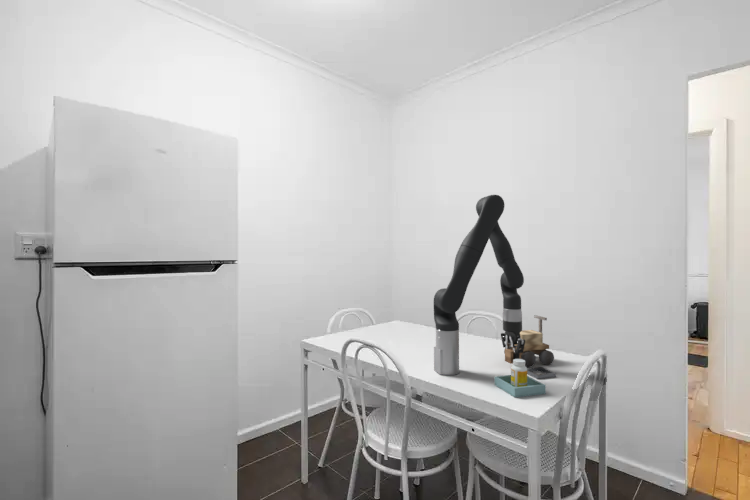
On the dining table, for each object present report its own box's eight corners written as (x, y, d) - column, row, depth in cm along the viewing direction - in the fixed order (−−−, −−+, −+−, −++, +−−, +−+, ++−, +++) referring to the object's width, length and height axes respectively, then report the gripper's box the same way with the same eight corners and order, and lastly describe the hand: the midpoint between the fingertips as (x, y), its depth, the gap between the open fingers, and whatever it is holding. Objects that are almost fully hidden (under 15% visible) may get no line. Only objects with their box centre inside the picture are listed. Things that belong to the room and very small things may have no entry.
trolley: (523, 367, 156) (523, 321, 156) (504, 358, 169) (504, 315, 169) (554, 364, 160) (553, 319, 159) (532, 355, 173) (532, 313, 173)
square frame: (537, 379, 142) (537, 375, 142) (523, 372, 150) (523, 368, 150) (555, 377, 144) (555, 373, 144) (541, 370, 152) (541, 366, 152)
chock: (510, 363, 153) (510, 351, 153) (504, 360, 157) (504, 348, 157) (521, 362, 154) (521, 350, 154) (515, 359, 158) (515, 348, 158)
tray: (514, 397, 125) (514, 388, 125) (494, 384, 136) (494, 376, 136) (545, 393, 128) (545, 384, 128) (523, 381, 139) (523, 373, 139)
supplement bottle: (508, 387, 132) (508, 360, 132) (514, 383, 136) (514, 357, 136) (523, 391, 128) (523, 363, 128) (529, 387, 132) (529, 360, 132)
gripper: (531, 321, 150) (531, 364, 150) (509, 315, 163) (510, 355, 163) (515, 323, 148) (515, 366, 148) (494, 316, 161) (495, 356, 162)
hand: (512, 360), depth 156 cm, fingers closed on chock, 4 cm apart
